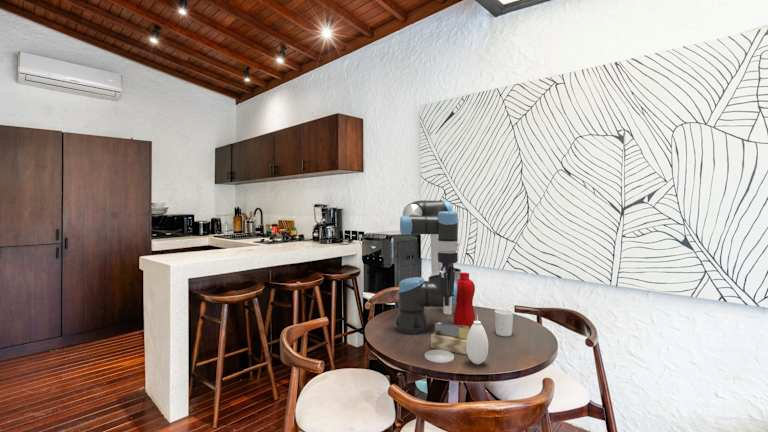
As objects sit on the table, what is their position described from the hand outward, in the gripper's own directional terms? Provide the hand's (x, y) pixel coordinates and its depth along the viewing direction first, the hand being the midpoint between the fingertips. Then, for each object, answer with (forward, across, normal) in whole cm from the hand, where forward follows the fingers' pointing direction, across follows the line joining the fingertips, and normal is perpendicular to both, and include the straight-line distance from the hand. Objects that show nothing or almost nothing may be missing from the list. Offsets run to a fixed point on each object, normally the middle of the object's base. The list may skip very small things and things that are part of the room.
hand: (447, 313), depth 141 cm
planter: (+16, +56, +16) cm, 60 cm away
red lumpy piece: (+16, +39, +4) cm, 42 cm away
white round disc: (+16, -3, +2) cm, 16 cm away
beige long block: (+16, +7, -2) cm, 18 cm away
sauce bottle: (+16, -2, -12) cm, 20 cm away
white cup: (+16, +34, -15) cm, 40 cm away
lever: (+11, +7, +1) cm, 13 cm away
